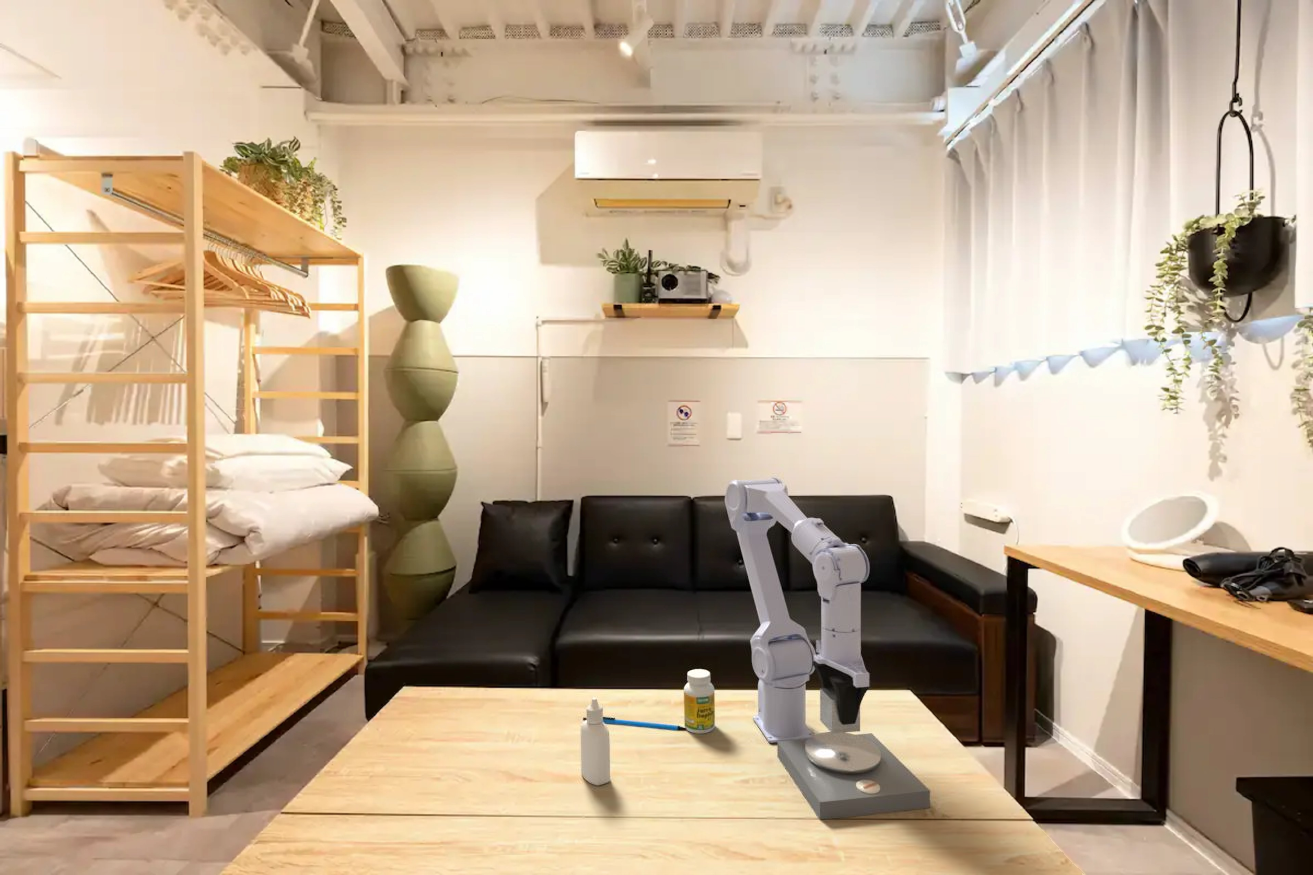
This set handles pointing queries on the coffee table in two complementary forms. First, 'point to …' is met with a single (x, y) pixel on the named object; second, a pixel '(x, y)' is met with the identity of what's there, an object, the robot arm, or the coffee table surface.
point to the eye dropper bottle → (595, 746)
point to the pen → (641, 724)
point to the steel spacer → (834, 713)
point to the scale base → (854, 784)
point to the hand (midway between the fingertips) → (840, 715)
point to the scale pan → (843, 752)
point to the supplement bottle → (699, 702)
